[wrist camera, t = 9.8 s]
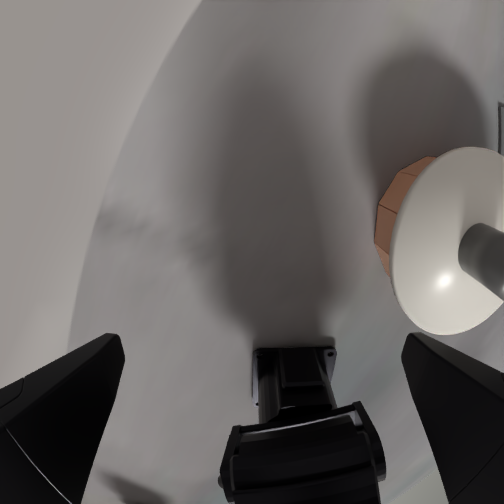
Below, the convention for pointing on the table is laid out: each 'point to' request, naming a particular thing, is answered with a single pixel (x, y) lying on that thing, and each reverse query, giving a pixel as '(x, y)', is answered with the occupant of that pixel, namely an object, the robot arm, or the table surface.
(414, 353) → the robot arm
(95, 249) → the table surface
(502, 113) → the mat
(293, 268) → the table surface
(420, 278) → the lid
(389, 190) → the bowl
